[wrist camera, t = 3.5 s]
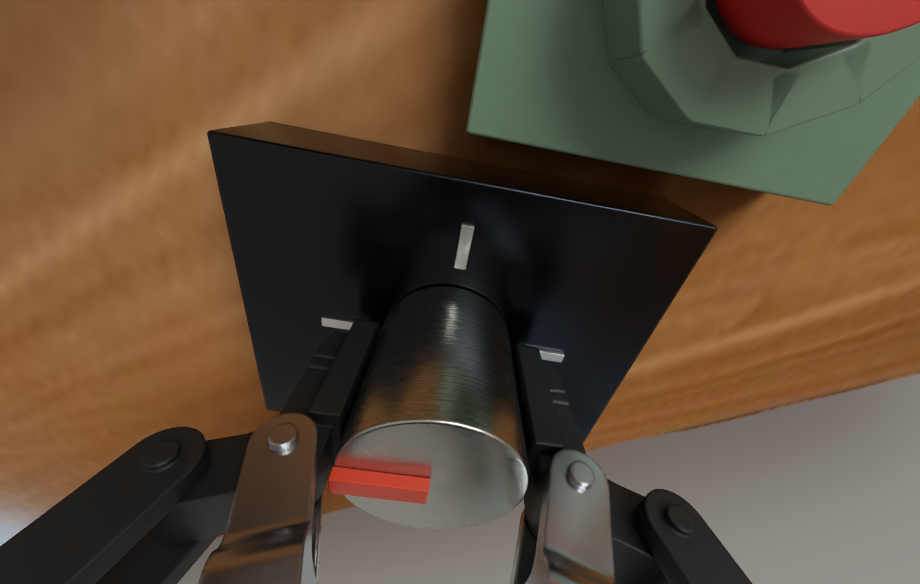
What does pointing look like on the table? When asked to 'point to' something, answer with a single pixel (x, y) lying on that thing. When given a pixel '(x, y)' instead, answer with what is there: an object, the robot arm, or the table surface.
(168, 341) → the table surface
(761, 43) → the button
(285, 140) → the dial panel
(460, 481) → the knob
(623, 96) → the button base
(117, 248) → the table surface
